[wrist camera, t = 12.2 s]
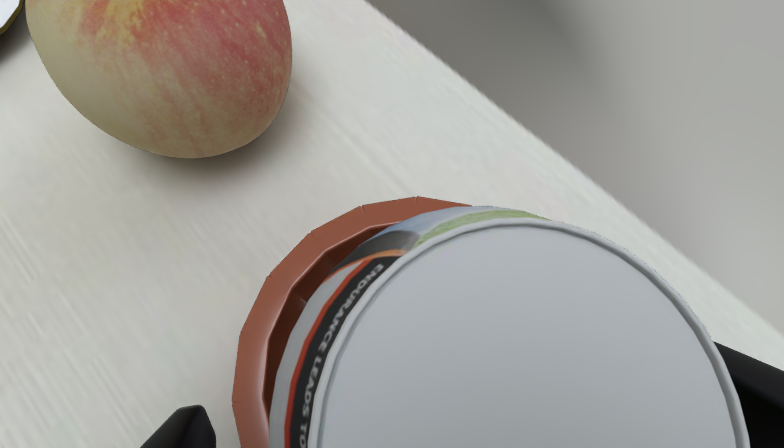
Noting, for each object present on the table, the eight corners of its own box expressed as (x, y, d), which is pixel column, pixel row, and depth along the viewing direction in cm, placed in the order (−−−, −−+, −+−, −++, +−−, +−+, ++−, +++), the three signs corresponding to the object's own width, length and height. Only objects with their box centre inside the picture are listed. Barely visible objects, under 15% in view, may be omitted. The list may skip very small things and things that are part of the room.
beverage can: (353, 264, 17) (282, 48, 6) (528, 332, 16) (866, 241, 5) (284, 422, 15) (-46, 591, 4) (479, 509, 14) (863, 1092, 3)
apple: (241, 7, 22) (164, -181, 15) (345, 115, 20) (319, -40, 12) (92, 96, 20) (-87, -68, 13) (189, 226, 18) (44, 123, 10)
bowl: (606, 422, 15) (688, 442, 11) (354, 601, 14) (338, 706, 9) (453, 196, 19) (473, 145, 14) (230, 318, 17) (176, 300, 12)
